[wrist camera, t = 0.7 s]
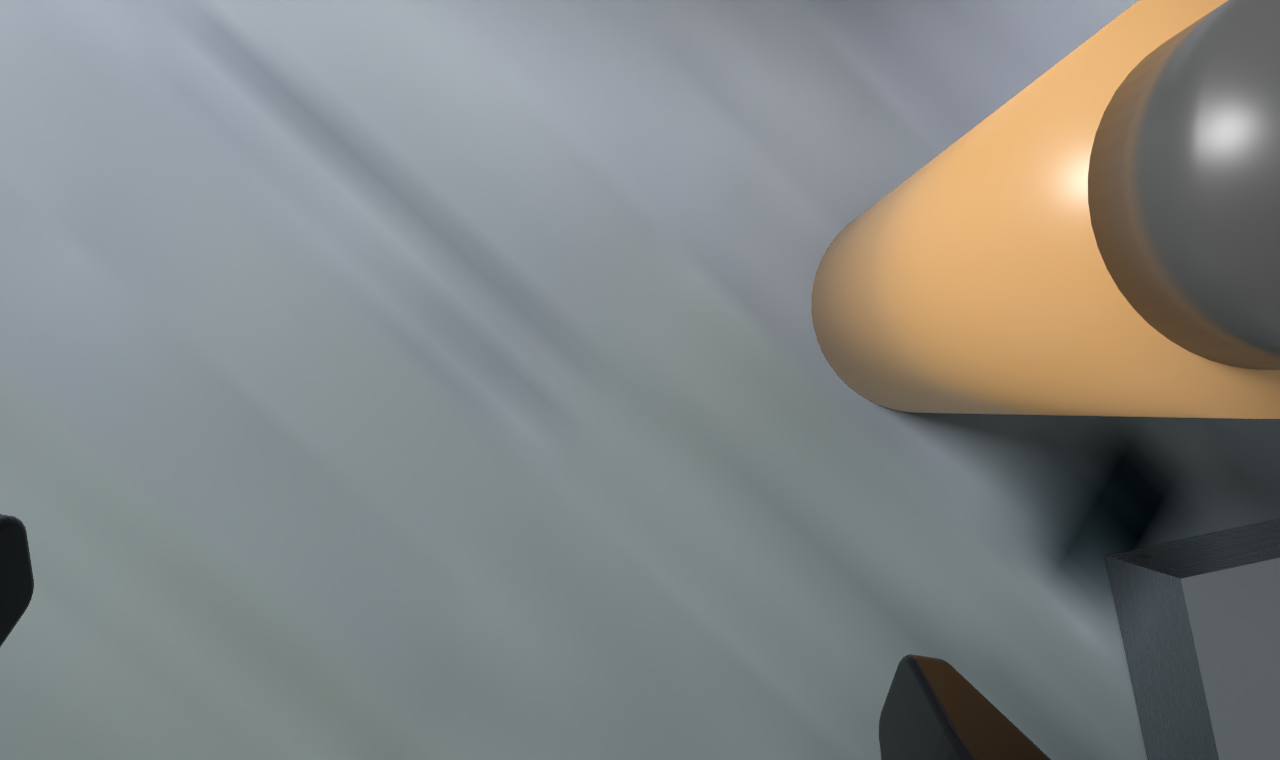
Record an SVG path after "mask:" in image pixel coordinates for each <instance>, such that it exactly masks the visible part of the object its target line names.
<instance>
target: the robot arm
mask: <svg viewBox="0 0 1280 760" xmlns="http://www.w3.org/2000/svg"><path fill="white" fill-rule="evenodd" d="M33 588H34V580H33V573H32V567H31V560H30V553H29V546H28V540H27V533H26V529H25V526H24V525H23V523H22V522H21V521H20V520H19V519H17V518H16V517H13V516H8V515H2V514H0V647H1V645H2V644H3V642H4V641H5V639H6V638H7V637H8V635H9V634H10V632H11V631H12V629H13V628H14V626H15V625H16V624H17V622H18V621H19V619H20V618H21V616H22V615H23V613H24V612H25V610H26V609H27V607H28V605H29V603H30V601H31V598H32V594H33ZM879 742H880V750H881V759H882V760H1051V759H1050V758H1049V757H1047V756H1046V755H1045V754H1044V753H1043V752H1042V751H1041V750H1040V749H1039V748H1038V747H1037V746H1036V745H1035V744H1034V743H1033V742H1032V741H1031V740H1029V739H1028V738H1027V737H1026V736H1025V735H1024V734H1023V733H1022V732H1021V731H1020V730H1019V729H1018V728H1017V727H1016V726H1015V725H1014V724H1013V723H1011V722H1010V721H1009V720H1008V719H1007V718H1006V717H1005V716H1004V715H1003V714H1002V713H1001V712H1000V711H999V710H998V709H997V708H996V707H994V706H993V705H992V704H991V703H990V702H989V701H988V700H987V699H986V698H985V697H984V696H983V695H982V694H981V693H980V692H979V691H978V690H976V689H975V688H974V687H973V686H972V685H971V684H970V683H969V682H968V681H967V680H966V679H965V678H964V677H963V676H962V675H961V674H959V673H958V672H957V671H956V670H955V669H954V668H953V667H952V666H951V665H950V664H949V663H947V662H946V661H944V660H942V659H938V658H931V657H925V656H918V655H907V656H905V657H903V658H902V660H901V661H900V663H899V665H898V667H897V670H896V673H895V675H894V678H893V681H892V684H891V687H890V689H889V692H888V695H887V698H886V701H885V703H884V706H883V709H882V712H881V716H880V721H879Z"/></svg>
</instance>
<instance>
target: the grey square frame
mask: <svg viewBox="0 0 1280 760" xmlns="http://www.w3.org/2000/svg"><path fill="white" fill-rule="evenodd" d="M1105 558H1106V563H1107V567H1108V572H1109V577H1110V581H1111V586H1112V591H1113V596H1114V600H1115V605H1116V610H1117V615H1118V619H1119V624H1120V629H1121V634H1122V638H1123V643H1124V648H1125V653H1126V657H1127V662H1128V667H1129V672H1130V676H1131V681H1132V686H1133V691H1134V695H1135V700H1136V705H1137V710H1138V714H1139V719H1140V724H1141V729H1142V733H1143V738H1144V743H1145V748H1146V752H1147V757H1148V760H1280V519H1278V520H1273V521H1269V522H1264V523H1259V524H1254V525H1250V526H1245V527H1240V528H1235V529H1231V530H1226V531H1221V532H1216V533H1212V534H1207V535H1202V536H1197V537H1193V538H1188V539H1183V540H1178V541H1173V542H1169V543H1164V544H1159V545H1154V546H1150V547H1145V548H1140V549H1135V550H1131V551H1126V552H1121V553H1116V554H1112V555H1107V556H1105Z"/></svg>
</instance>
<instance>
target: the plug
mask: <svg viewBox="0 0 1280 760" xmlns="http://www.w3.org/2000/svg"><path fill="white" fill-rule="evenodd" d="M812 317H813V325H814V329H815V333H816V336H817V340H818V342H819V345H820V347H821V350H822V352H823V354H824V356H825V357H826V359H827V361H828V363H829V364H830V366H831V367H832V368H833V370H834V371H835V372H836V374H837V375H838V376H839V377H840V378H841V379H842V380H843V381H844V382H845V383H846V384H847V385H848V386H849V387H850V388H851V389H853V390H854V391H855V392H857V393H858V394H859V395H861V396H863V397H864V398H866V399H868V400H869V401H871V402H873V403H876V404H878V405H881V406H883V407H886V408H889V409H893V410H897V411H903V412H910V413H956V414H1012V415H1067V416H1122V417H1177V418H1233V419H1280V0H1140V1H1138V2H1136V3H1135V4H1134V5H1132V6H1131V7H1130V8H1128V9H1127V10H1126V11H1125V12H1123V13H1122V14H1121V15H1119V16H1118V17H1117V18H1115V19H1114V20H1113V21H1111V22H1110V23H1109V24H1108V25H1106V26H1105V27H1104V28H1102V29H1101V30H1100V31H1099V32H1097V33H1096V34H1095V35H1093V36H1092V37H1091V38H1089V39H1088V40H1087V41H1086V42H1084V43H1083V44H1082V45H1080V46H1079V47H1078V48H1076V49H1075V50H1074V51H1073V52H1071V53H1070V54H1069V55H1067V56H1066V57H1065V58H1064V59H1062V60H1061V61H1060V62H1058V63H1057V64H1056V65H1054V66H1053V67H1052V68H1051V69H1049V70H1048V71H1047V72H1045V73H1044V74H1043V75H1041V76H1040V77H1039V78H1038V79H1036V80H1035V81H1034V82H1032V83H1031V84H1030V85H1029V86H1027V87H1026V88H1025V89H1023V90H1022V91H1021V92H1019V93H1018V94H1017V95H1016V96H1014V97H1013V98H1012V99H1010V100H1009V101H1008V102H1006V103H1005V104H1004V105H1003V106H1001V107H1000V108H999V109H997V110H996V111H995V112H994V113H992V114H991V115H990V116H988V117H987V118H986V119H984V120H983V121H982V122H981V123H979V124H978V125H977V126H975V127H974V128H973V129H971V130H970V131H969V132H968V133H966V134H965V135H964V136H962V137H961V138H960V139H959V140H957V141H956V142H955V143H953V144H952V145H951V146H949V147H948V148H947V149H946V150H944V151H943V152H942V153H940V154H939V155H938V156H936V157H935V158H934V159H933V160H931V161H930V162H929V163H927V164H926V165H925V166H924V167H922V168H921V169H920V170H918V171H917V172H916V173H914V174H913V175H912V176H911V177H909V178H908V179H907V180H905V181H904V182H903V183H901V184H900V185H899V186H898V187H896V188H895V189H894V190H892V191H891V192H890V193H889V194H887V195H886V196H885V197H883V198H882V199H881V200H879V201H878V202H877V203H876V204H874V205H873V206H872V207H870V208H869V209H868V210H866V211H865V212H864V213H863V214H861V215H860V216H859V217H857V218H856V219H855V220H854V221H852V222H851V223H850V224H848V225H847V226H846V227H845V228H844V229H843V230H842V231H841V232H840V233H839V234H838V235H837V236H836V238H835V239H834V240H833V242H832V243H831V244H830V246H829V247H828V249H827V251H826V252H825V254H824V256H823V258H822V260H821V262H820V265H819V267H818V270H817V273H816V277H815V281H814V284H813V292H812Z"/></svg>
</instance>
